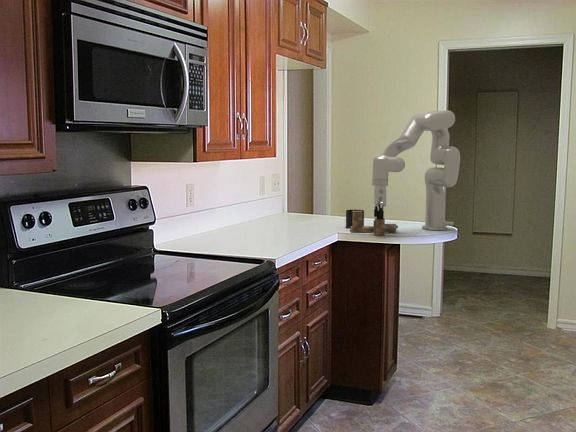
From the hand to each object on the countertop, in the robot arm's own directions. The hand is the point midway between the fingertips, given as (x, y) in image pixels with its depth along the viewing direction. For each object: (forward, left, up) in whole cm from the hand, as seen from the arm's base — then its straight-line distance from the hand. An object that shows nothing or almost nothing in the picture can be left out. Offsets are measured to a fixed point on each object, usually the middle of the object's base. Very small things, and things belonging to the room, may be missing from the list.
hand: (378, 218), depth 300 cm
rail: (+1, -9, -8) cm, 13 cm away
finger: (-1, 0, -8) cm, 8 cm away
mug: (+8, -25, -9) cm, 28 cm away
